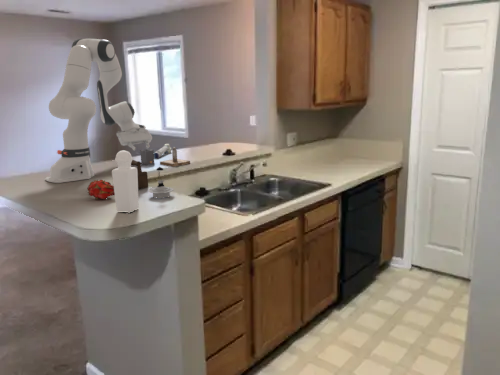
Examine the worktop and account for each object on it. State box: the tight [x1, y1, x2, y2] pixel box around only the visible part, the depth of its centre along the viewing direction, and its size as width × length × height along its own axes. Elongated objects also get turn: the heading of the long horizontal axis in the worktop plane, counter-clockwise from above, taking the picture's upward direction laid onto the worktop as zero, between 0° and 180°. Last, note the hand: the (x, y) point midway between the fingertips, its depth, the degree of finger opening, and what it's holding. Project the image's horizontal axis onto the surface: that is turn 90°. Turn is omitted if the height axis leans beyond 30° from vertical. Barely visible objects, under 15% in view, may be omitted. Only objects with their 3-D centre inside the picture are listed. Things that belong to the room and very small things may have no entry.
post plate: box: [159, 146, 191, 168], centre depth 246 cm, size 12×12×10 cm
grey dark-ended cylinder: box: [154, 143, 172, 159], centre depth 278 cm, size 5×7×25 cm
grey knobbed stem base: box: [148, 166, 175, 199], centre depth 174 cm, size 12×10×10 cm
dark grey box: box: [139, 148, 155, 166], centre depth 246 cm, size 5×6×8 cm
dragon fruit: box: [87, 179, 115, 200], centre depth 172 cm, size 8×8×12 cm
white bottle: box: [111, 149, 140, 212], centre depth 153 cm, size 6×6×22 cm
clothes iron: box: [131, 159, 149, 190], centre depth 192 cm, size 8×16×13 cm, turn 44°
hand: (141, 148), depth 248 cm, fingers open, 8 cm apart
